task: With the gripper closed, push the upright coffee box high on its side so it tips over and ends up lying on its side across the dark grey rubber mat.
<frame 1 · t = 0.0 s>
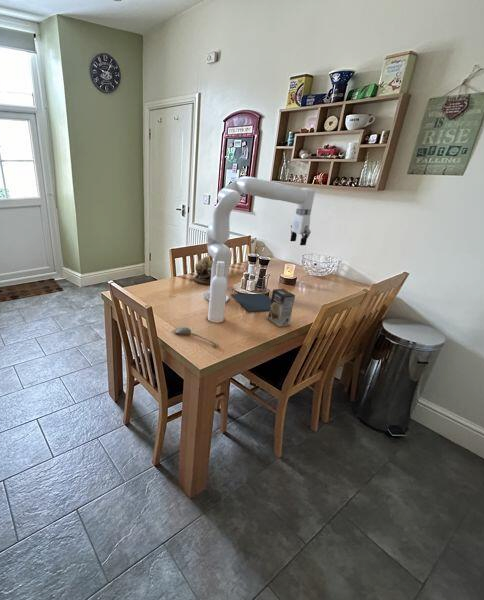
hand: (297, 243, 185), 31 cm above the table, tool pointing down, fingers open, 9 cm apart
coffee box: (278, 322, 163), on the table
bottle: (215, 319, 165), on the table
soupspoon: (195, 338, 147), on the table
mat: (255, 302, 185), on the table
owl figurine: (205, 281, 216), on the table
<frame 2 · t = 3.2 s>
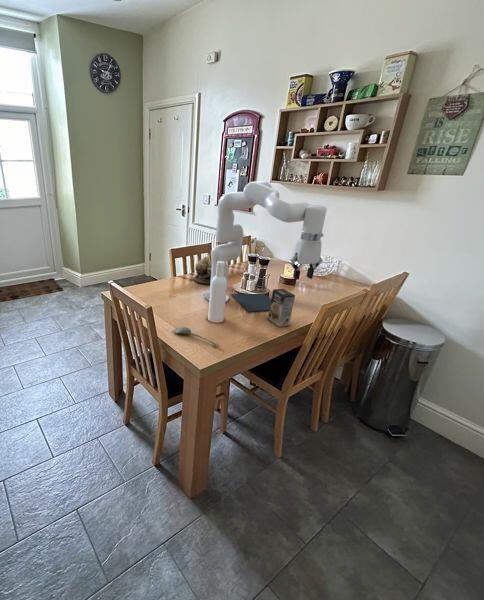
hand: (302, 277, 141), 28 cm above the table, tool pointing down, fingers open, 5 cm apart
nothing on the table moved.
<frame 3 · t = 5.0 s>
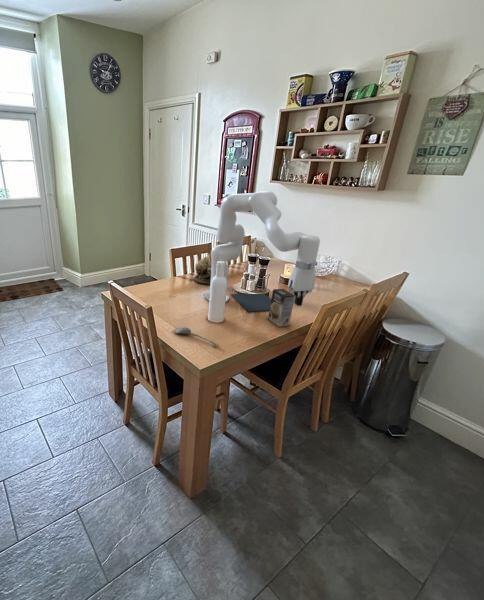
hand: (297, 304, 146), 15 cm above the table, tool pointing down, fingers closed
nothing on the table moved.
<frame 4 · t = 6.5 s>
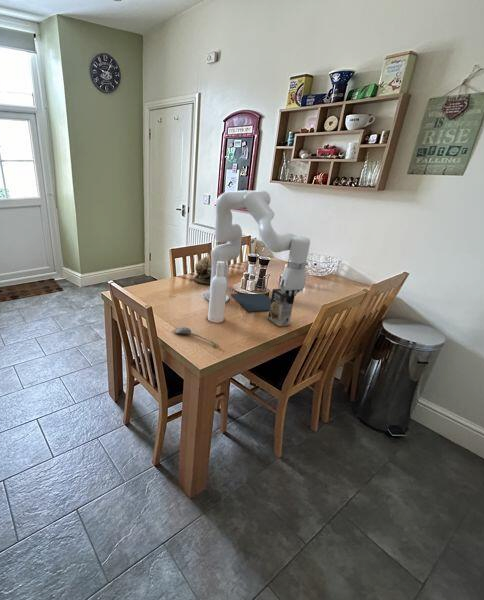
hand: (289, 302, 152), 13 cm above the table, tool pointing down, fingers closed
coffee box: (278, 322, 163), on the table, touching gripper
everything else where it was.
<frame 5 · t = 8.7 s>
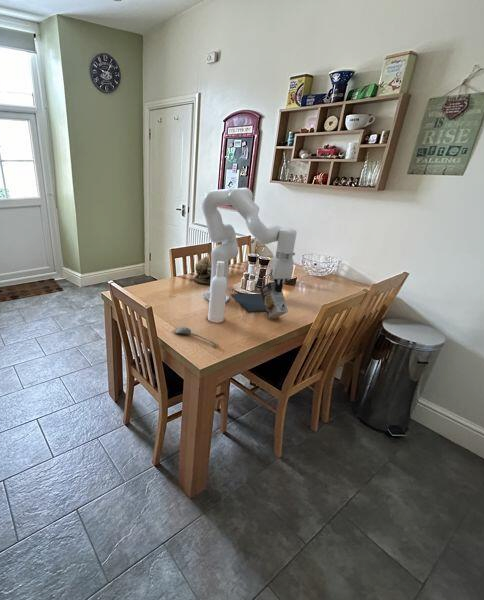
hand: (278, 291, 161), 15 cm above the table, tool pointing down, fingers closed
coffee box: (278, 315, 163), point 3 cm above the table, touching gripper
everything else where it was.
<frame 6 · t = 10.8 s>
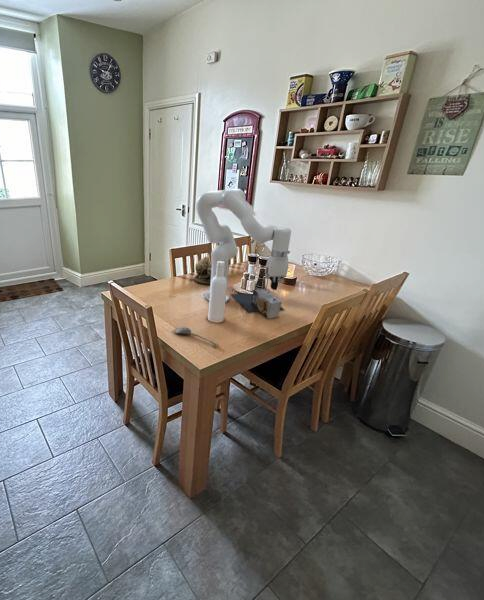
hand: (273, 288, 165), 14 cm above the table, tool pointing down, fingers closed
coffee box: (275, 310, 165), point 5 cm above the table, touching mat
everything else where it was.
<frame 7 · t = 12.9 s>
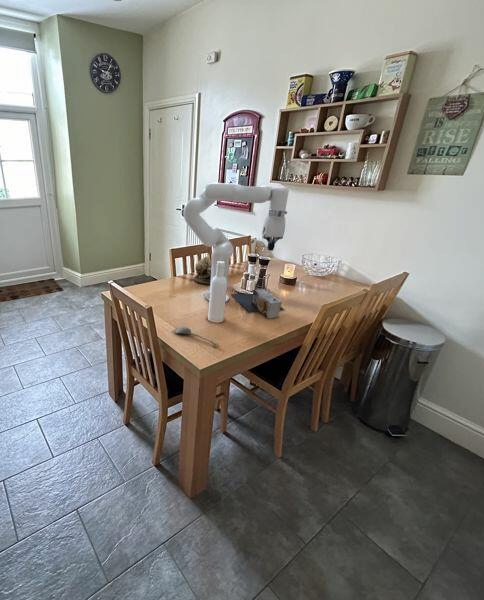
hand: (270, 250, 168), 32 cm above the table, tool pointing down, fingers closed
nothing on the table moved.
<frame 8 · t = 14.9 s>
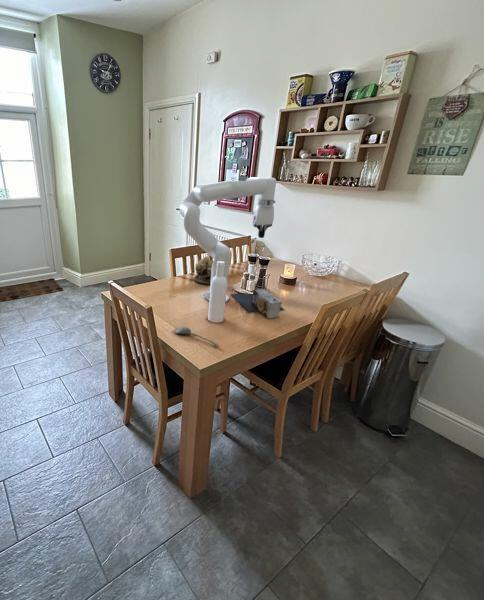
hand: (260, 237, 179), 35 cm above the table, tool pointing down, fingers closed
nothing on the table moved.
at the end: coffee box tilted 87°; coffee box touching mat, table; the gripper is holding nothing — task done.
